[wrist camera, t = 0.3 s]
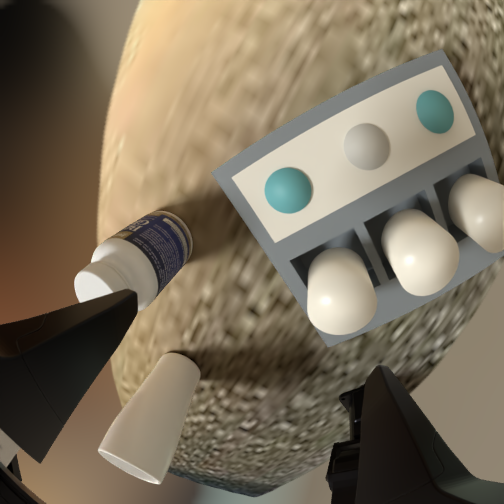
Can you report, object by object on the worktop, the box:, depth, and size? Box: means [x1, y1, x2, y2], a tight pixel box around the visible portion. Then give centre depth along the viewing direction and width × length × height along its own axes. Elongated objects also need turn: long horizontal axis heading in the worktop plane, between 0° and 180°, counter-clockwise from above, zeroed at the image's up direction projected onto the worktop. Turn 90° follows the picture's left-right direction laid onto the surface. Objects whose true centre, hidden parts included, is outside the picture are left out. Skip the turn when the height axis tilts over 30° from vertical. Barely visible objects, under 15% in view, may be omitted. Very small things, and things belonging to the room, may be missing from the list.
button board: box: [211, 49, 504, 347], centre depth 16 cm, size 16×18×3 cm
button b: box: [381, 209, 459, 296], centre depth 14 cm, size 4×4×4 cm
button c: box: [307, 247, 377, 335], centre depth 16 cm, size 4×4×4 cm
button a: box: [448, 174, 504, 253], centre depth 12 cm, size 4×4×4 cm
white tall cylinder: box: [98, 353, 200, 484], centre depth 23 cm, size 7×7×15 cm
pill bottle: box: [75, 211, 193, 311], centre depth 18 cm, size 5×5×10 cm
